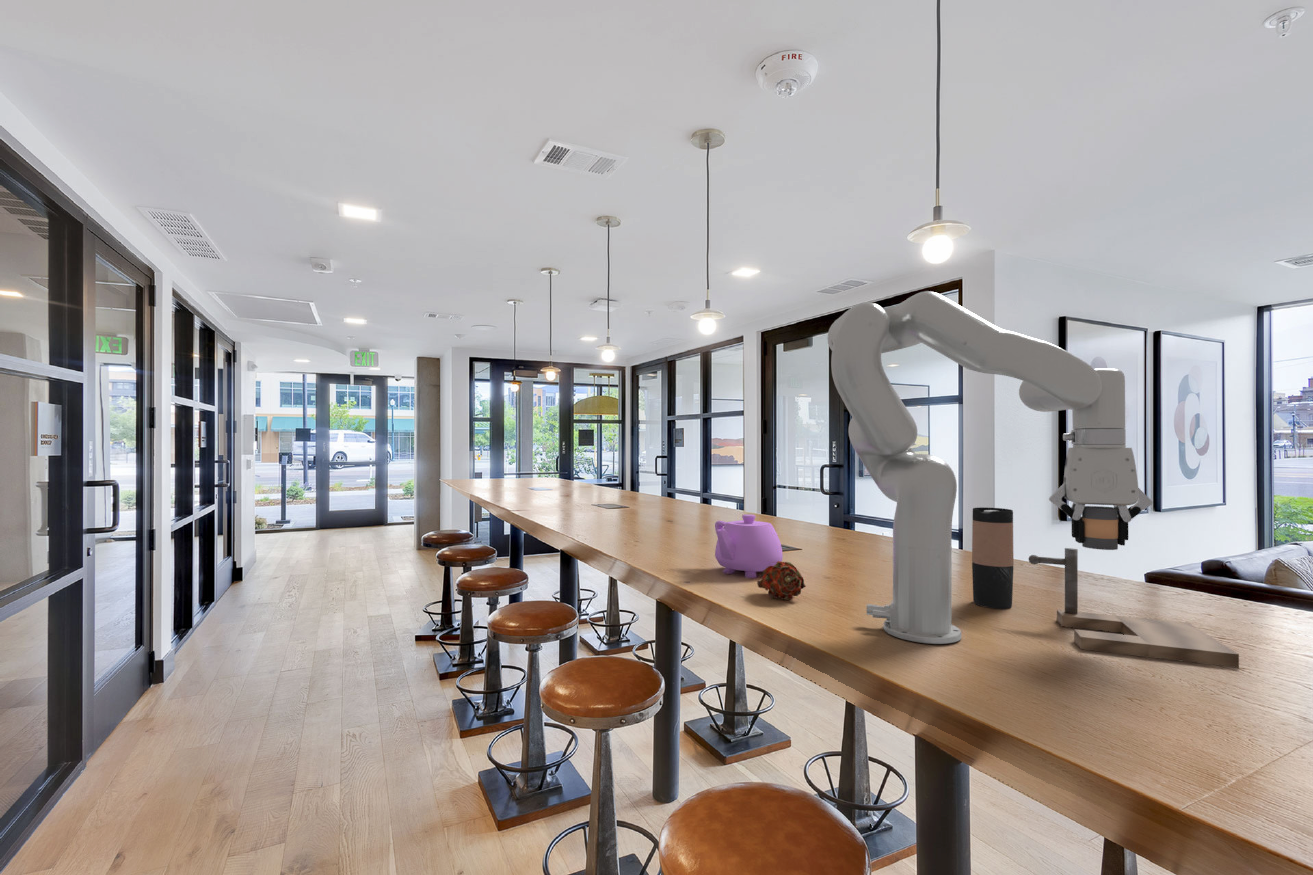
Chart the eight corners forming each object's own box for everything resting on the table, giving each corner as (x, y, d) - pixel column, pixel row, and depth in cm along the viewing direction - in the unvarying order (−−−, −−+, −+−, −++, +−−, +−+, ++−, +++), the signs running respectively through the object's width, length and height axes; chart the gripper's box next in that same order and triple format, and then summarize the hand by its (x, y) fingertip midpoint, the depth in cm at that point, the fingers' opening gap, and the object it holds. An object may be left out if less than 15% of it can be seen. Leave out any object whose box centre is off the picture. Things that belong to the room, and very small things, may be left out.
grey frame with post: (1045, 644, 101) (1045, 561, 101) (1027, 616, 118) (1027, 545, 118) (1238, 667, 91) (1238, 574, 91) (1188, 633, 108) (1188, 555, 108)
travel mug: (1002, 600, 130) (1003, 507, 131) (1020, 609, 123) (1020, 511, 123) (965, 599, 131) (966, 507, 131) (981, 608, 124) (981, 510, 124)
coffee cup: (1078, 544, 109) (1077, 505, 109) (1113, 546, 107) (1112, 506, 107) (1085, 548, 104) (1085, 508, 104) (1122, 550, 102) (1122, 509, 102)
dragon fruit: (799, 612, 125) (763, 607, 135) (821, 584, 129) (785, 581, 139) (777, 581, 124) (742, 578, 134) (800, 553, 128) (765, 553, 138)
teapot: (684, 571, 157) (685, 514, 157) (734, 562, 171) (734, 509, 171) (744, 585, 143) (744, 521, 143) (793, 573, 156) (793, 515, 156)
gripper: (1045, 439, 106) (1046, 543, 106) (1167, 439, 99) (1168, 549, 99) (1037, 440, 113) (1038, 537, 113) (1151, 439, 106) (1152, 543, 106)
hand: (1099, 542), depth 106 cm, fingers closed on coffee cup, 5 cm apart
